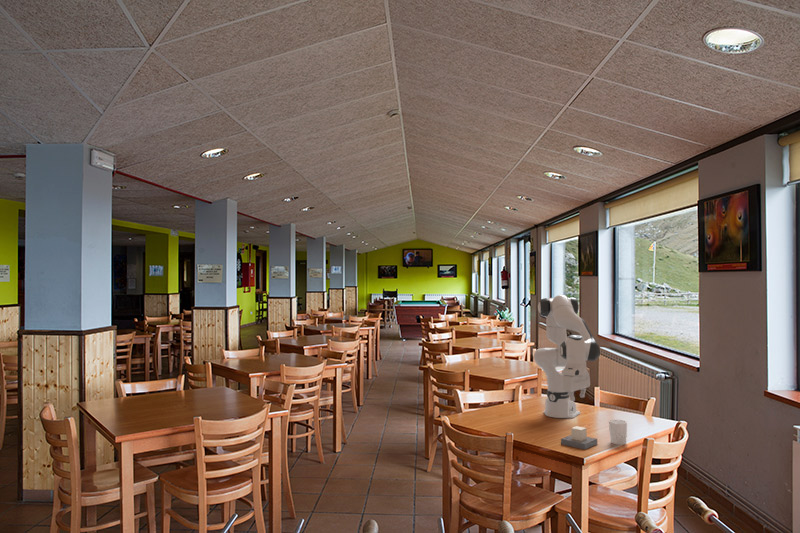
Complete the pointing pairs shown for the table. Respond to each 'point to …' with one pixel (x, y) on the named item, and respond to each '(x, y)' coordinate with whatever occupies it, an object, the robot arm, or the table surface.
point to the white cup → (618, 431)
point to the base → (579, 442)
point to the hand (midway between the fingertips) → (577, 398)
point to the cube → (579, 433)
